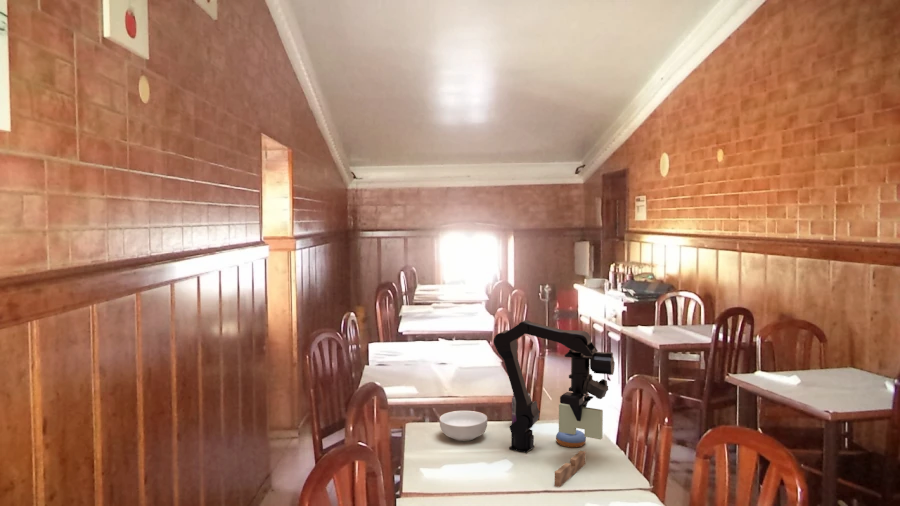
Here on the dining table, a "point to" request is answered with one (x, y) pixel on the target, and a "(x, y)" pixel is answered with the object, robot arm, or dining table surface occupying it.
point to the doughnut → (571, 439)
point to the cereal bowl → (463, 424)
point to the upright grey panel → (589, 421)
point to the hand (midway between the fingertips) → (579, 420)
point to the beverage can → (514, 408)
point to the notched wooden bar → (569, 468)
